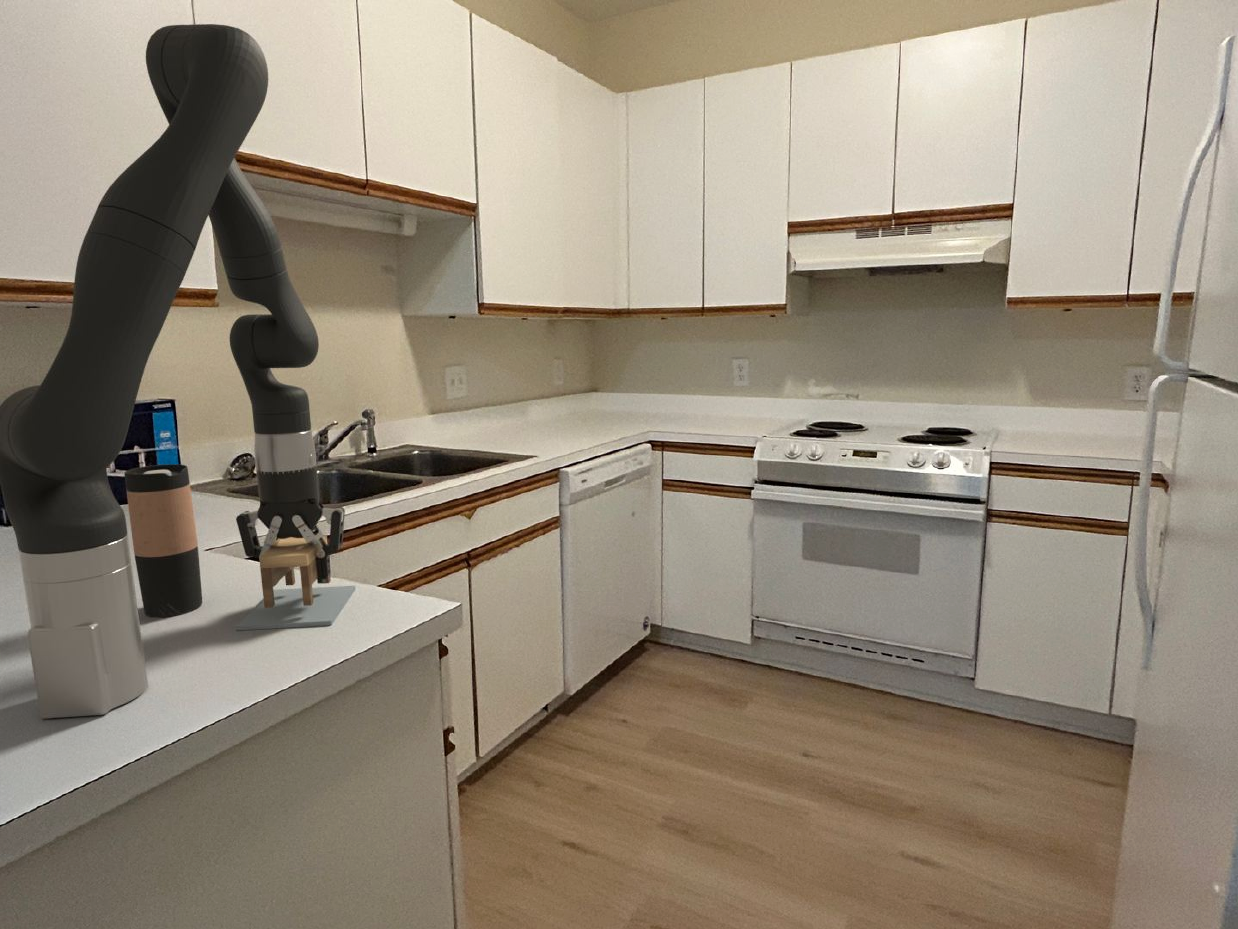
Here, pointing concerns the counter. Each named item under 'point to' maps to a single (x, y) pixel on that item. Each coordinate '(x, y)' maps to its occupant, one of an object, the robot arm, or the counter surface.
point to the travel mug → (164, 539)
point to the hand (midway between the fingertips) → (297, 582)
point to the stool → (289, 568)
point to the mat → (298, 609)
